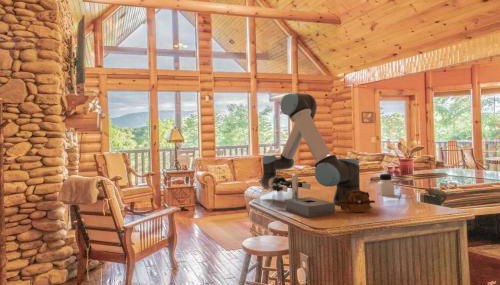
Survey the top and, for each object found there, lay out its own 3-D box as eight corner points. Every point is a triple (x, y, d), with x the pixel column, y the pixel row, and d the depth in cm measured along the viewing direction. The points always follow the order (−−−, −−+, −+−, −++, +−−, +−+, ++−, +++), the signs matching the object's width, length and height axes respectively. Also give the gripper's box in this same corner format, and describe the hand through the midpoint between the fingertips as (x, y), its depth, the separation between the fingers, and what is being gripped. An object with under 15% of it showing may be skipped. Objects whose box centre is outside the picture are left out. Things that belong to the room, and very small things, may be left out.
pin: (299, 205, 193) (298, 174, 192) (298, 206, 190) (297, 174, 189) (293, 205, 194) (292, 174, 193) (291, 206, 191) (290, 174, 190)
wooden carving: (339, 213, 170) (339, 191, 169) (337, 211, 174) (337, 190, 174) (376, 212, 169) (376, 190, 169) (373, 210, 173) (373, 189, 173)
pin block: (285, 210, 181) (285, 199, 181) (310, 207, 187) (309, 197, 187) (308, 217, 163) (308, 206, 163) (335, 214, 169) (334, 203, 169)
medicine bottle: (394, 195, 213) (394, 174, 213) (381, 195, 213) (381, 174, 213) (390, 193, 220) (389, 173, 220) (377, 193, 221) (377, 173, 220)
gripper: (297, 188, 213) (319, 193, 194) (257, 192, 203) (276, 197, 184) (297, 175, 213) (318, 178, 194) (257, 178, 203) (276, 182, 183)
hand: (298, 187), depth 189 cm, fingers open, 13 cm apart
